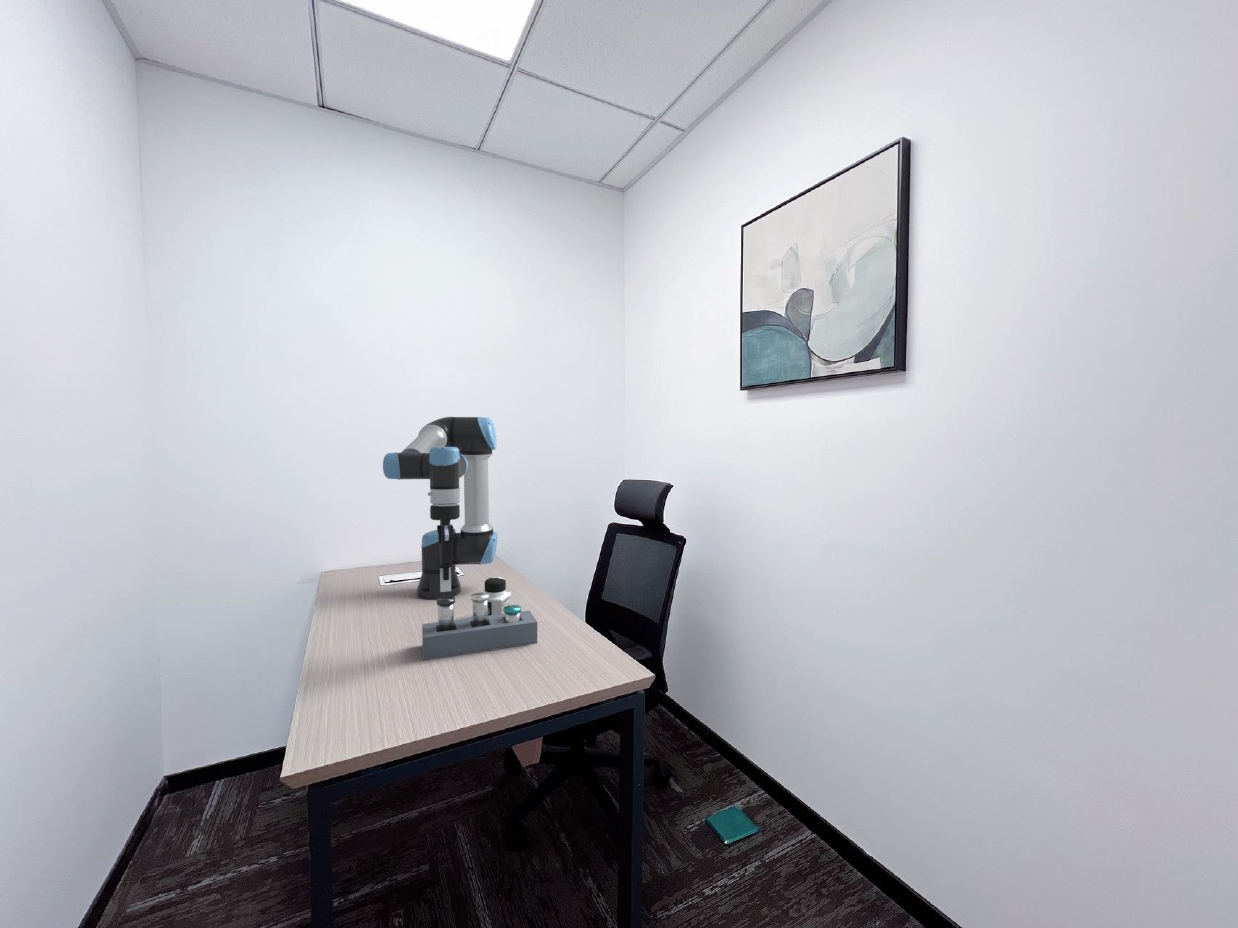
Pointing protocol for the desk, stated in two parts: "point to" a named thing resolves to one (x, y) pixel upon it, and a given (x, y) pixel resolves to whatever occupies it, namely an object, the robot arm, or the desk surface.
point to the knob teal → (512, 613)
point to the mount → (478, 636)
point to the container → (497, 595)
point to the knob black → (445, 613)
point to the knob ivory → (480, 609)
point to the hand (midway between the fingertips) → (445, 590)
